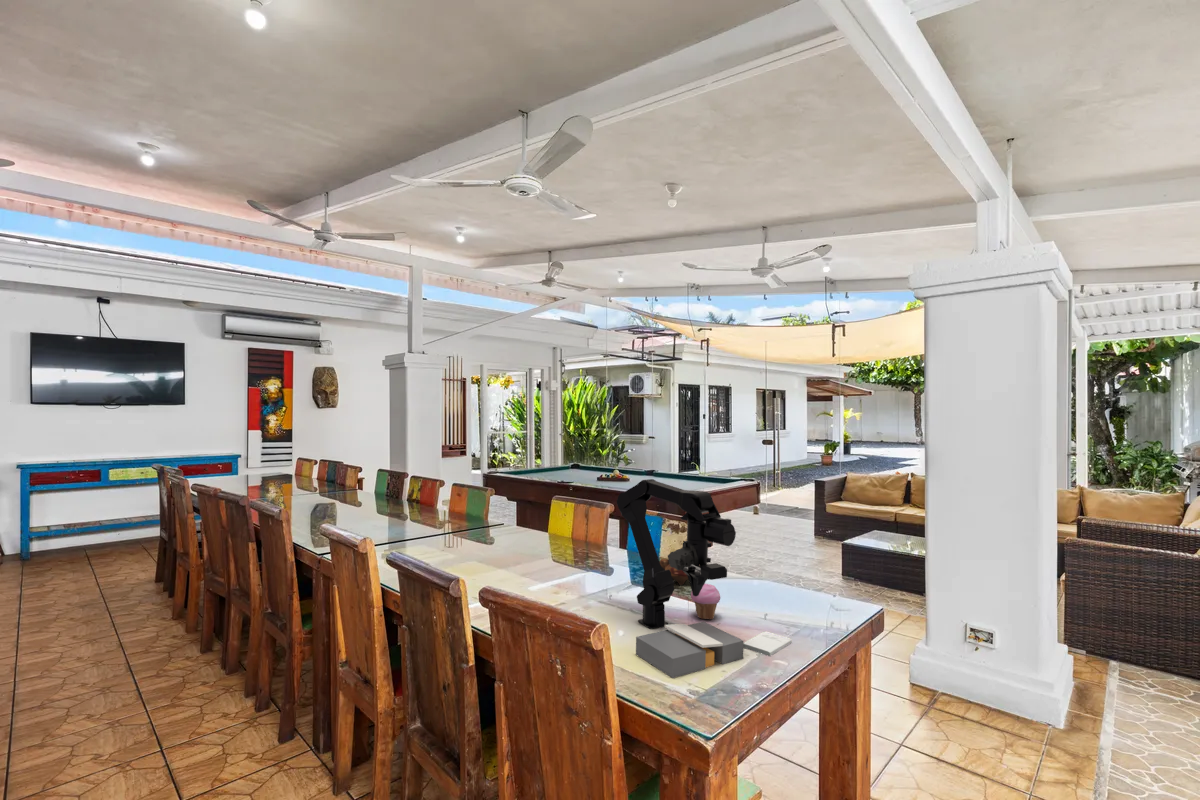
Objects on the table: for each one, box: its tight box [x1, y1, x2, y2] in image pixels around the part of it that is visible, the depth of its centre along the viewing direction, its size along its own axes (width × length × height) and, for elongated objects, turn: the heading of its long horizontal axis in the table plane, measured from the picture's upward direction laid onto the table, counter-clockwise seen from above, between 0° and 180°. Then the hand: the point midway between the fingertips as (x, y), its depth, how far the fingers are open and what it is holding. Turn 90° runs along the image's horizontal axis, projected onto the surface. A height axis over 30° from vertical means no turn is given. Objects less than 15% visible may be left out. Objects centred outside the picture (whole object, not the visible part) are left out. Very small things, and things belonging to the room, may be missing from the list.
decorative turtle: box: [659, 558, 689, 586], centre depth 218 cm, size 10×15×8 cm, turn 72°
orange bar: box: [675, 633, 715, 668], centre depth 156 cm, size 14×4×4 cm
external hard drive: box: [743, 630, 793, 657], centre depth 163 cm, size 2×8×12 cm
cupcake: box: [690, 583, 721, 620], centre depth 183 cm, size 9×9×10 cm
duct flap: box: [664, 623, 723, 648], centre depth 156 cm, size 15×6×1 cm, turn 31°
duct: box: [635, 621, 745, 679], centre depth 155 cm, size 15×22×4 cm, turn 121°
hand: (695, 595), depth 166 cm, fingers closed
